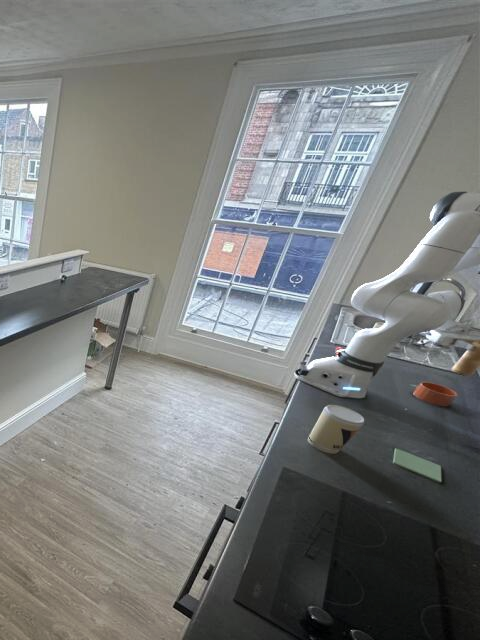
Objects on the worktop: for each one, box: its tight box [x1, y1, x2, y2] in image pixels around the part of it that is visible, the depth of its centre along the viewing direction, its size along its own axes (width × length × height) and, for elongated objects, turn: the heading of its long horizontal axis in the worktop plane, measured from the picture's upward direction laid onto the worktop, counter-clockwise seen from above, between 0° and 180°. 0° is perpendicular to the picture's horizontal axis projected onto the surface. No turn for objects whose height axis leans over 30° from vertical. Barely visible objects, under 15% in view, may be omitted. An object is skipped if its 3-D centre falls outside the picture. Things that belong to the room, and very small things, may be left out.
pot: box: [412, 381, 459, 407], centre depth 151 cm, size 10×10×5 cm
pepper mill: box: [451, 340, 480, 377], centre depth 139 cm, size 5×5×15 cm
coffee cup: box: [307, 404, 365, 455], centre depth 118 cm, size 9×9×12 cm
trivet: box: [392, 447, 443, 484], centre depth 116 cm, size 10×10×1 cm
